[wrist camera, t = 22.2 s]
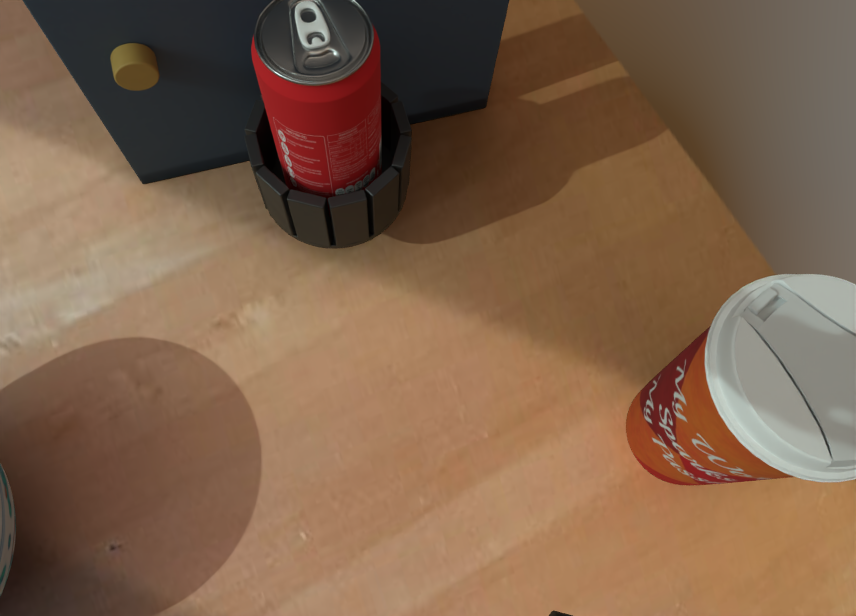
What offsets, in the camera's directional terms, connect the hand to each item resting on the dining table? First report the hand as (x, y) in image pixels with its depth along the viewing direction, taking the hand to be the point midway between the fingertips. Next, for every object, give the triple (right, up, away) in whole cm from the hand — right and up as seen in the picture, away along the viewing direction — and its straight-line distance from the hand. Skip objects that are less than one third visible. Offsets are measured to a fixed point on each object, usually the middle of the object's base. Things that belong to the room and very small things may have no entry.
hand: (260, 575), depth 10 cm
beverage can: (-3, +11, +30) cm, 32 cm away
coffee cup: (+16, -3, +31) cm, 35 cm away
